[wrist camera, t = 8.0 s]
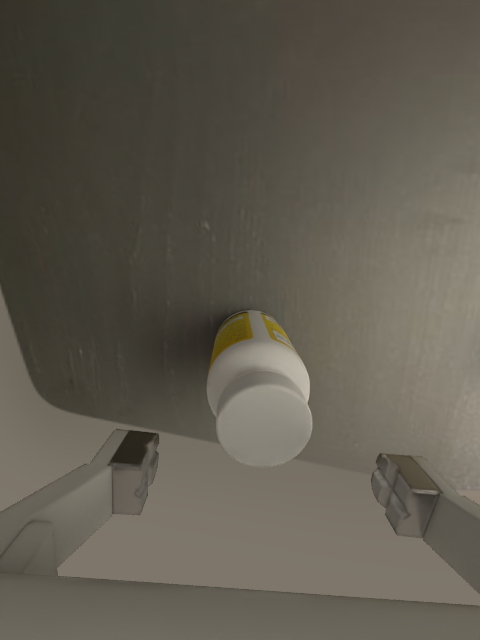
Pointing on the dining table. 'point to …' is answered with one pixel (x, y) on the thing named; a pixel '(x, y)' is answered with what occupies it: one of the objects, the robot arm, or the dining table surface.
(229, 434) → the supplement bottle
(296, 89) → the dining table surface
